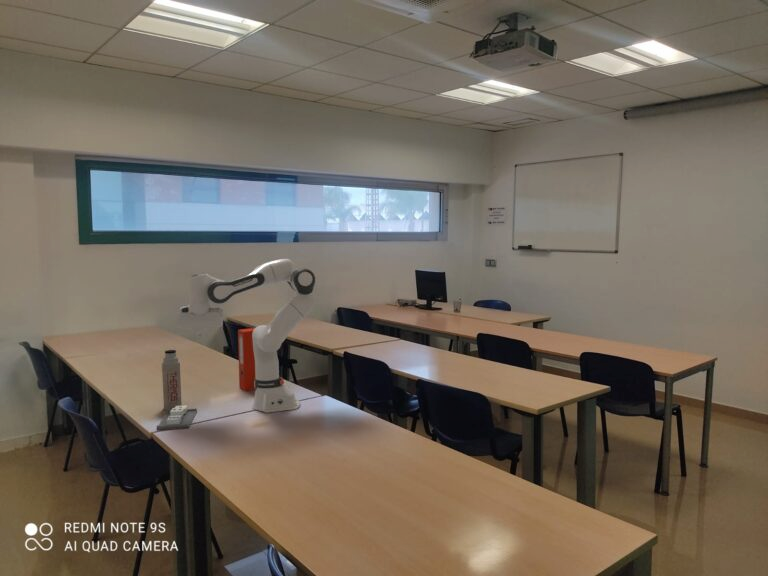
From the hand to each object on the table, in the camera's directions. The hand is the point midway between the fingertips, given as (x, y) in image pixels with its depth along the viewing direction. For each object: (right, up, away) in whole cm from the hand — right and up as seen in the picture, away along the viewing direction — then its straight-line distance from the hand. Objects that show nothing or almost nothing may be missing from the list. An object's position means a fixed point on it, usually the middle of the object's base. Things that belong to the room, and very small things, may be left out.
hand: (200, 337), depth 250 cm
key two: (-7, -34, -11) cm, 36 cm away
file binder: (+17, -31, +42) cm, 55 cm away
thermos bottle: (-16, -35, +7) cm, 39 cm away
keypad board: (-7, -36, -11) cm, 38 cm away
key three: (-5, -36, -18) cm, 40 cm away
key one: (-8, -34, -4) cm, 35 cm away
